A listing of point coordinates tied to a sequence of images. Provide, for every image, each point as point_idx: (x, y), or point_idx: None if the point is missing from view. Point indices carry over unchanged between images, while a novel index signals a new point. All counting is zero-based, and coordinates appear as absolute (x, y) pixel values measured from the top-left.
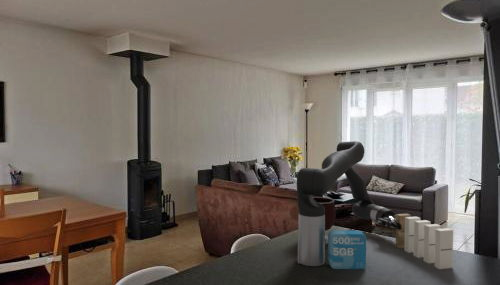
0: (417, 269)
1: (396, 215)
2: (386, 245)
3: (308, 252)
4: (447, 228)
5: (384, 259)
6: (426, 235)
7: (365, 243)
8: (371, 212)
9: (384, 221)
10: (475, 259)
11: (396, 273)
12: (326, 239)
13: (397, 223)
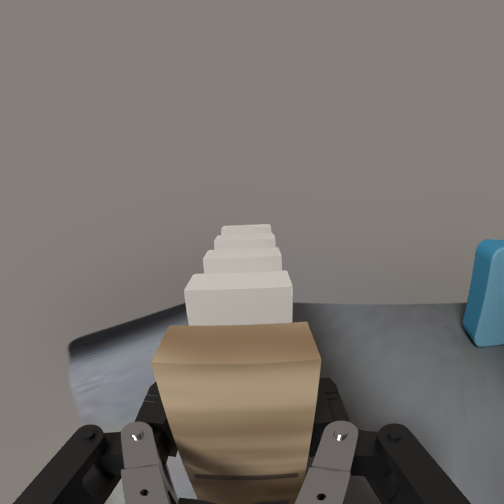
0: (333, 333)
1: (318, 361)
2: None
3: None
4: (226, 229)
5: (412, 380)
6: None
7: (475, 264)
8: None
9: (424, 458)
10: (112, 349)
11: (393, 321)
12: None
13: (322, 386)
